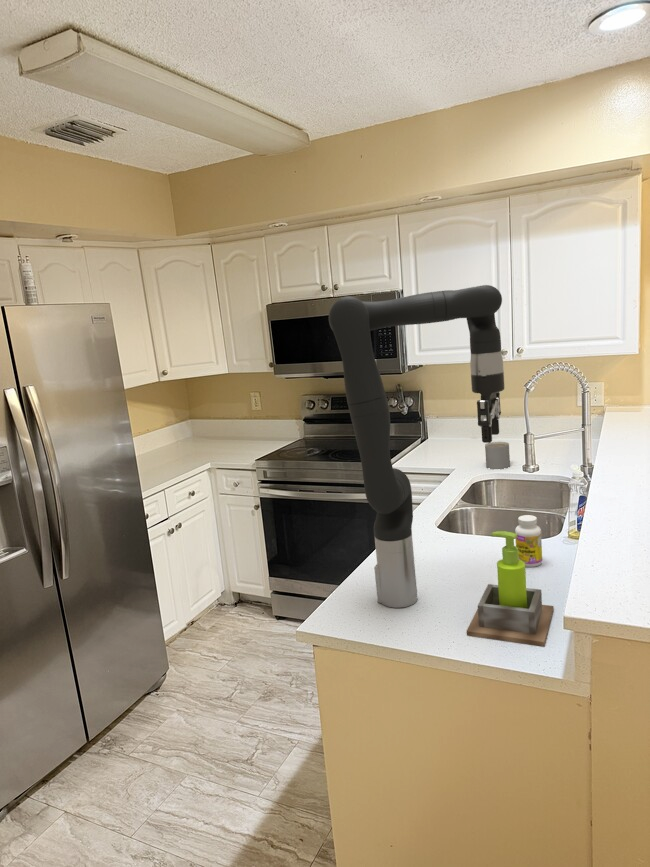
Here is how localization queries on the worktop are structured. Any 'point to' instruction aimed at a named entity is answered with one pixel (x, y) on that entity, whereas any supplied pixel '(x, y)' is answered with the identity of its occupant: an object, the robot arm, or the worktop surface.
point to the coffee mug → (497, 455)
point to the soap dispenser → (511, 574)
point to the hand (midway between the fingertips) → (491, 438)
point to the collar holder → (512, 619)
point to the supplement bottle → (529, 541)
